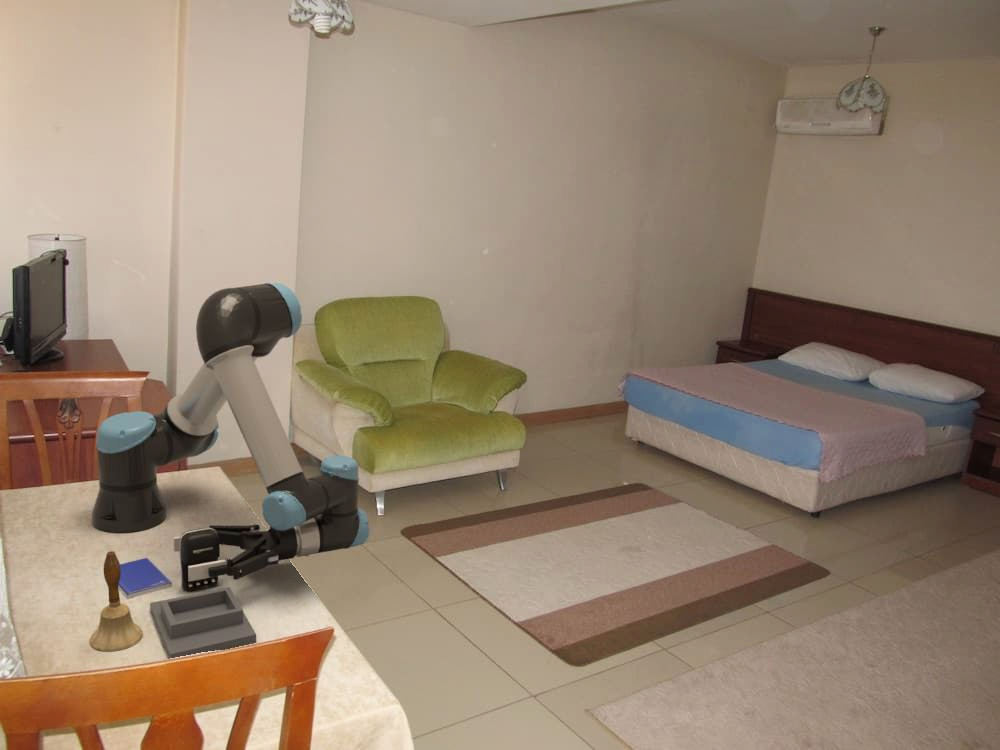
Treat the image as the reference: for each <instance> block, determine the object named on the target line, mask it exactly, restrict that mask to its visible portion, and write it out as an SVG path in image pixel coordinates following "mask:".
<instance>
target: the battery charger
mask: <svg viewBox="0 0 1000 750" xmlns="http://www.w3.org/2000/svg"><path fill="white" fill-rule="evenodd" d="M180 536H181V537H180V551H179V562H180V574H181V575H180V576H181V578H180V579H181V583H180V586H181V587H182V589H183V590H184V591H187V592H193V591H199V590H203V589H207V588H211V587H212V588H213V587H214V586H217V585H218V584H219V576H216V577H210V578H205V579H200V580H195V581H190V582H189V579H188V566H192V565H198V564H203V563H208V562H214V561H219V558H220V556H221V547H220V545H221V544H220V543H219V537H218V535H217V533H216V531H215V530H214V529H212V528H209V527H203V528H198V529H197V528H196V529H192V530H187V531H185V532H183V533H182V534H181V535H180Z"/></svg>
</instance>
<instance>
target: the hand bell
mask: <svg viewBox="0 0 1000 750" xmlns="http://www.w3.org/2000/svg"><path fill="white" fill-rule="evenodd" d="M120 564H121V563H120V561H119V559H118V556H117V554H116V552H115V551H107V552H106V557H105V559H104V563H103V576H104V581H105V583H106V584H107V585H106V586H107V587H108V603H109V604H108V605H107V606H105V607H103V608H102V610H101V612H100V619H99V624H98V627H97V629H96V630H95V631H94V632H93V633H92V634H91V636H90V638H89V645H90V646H91V647H92V648H93V649H95V650H97V651H99V652H100V651H101V652H117V651H122V650H126V649H128V648H130V647H133V646H134V645H136V644H138V643H139V641H141V639H142V638H143V635H144V631H143V629H142V627H141V626H140V625H138V624H136V623H135V622H134V621H133V617H132V615H131V609H130V607H129V605H127V604H126V603H121V598H120V589H119V588H118V585H119V580H120V575H121V569H120Z"/></svg>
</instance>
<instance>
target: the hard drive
mask: <svg viewBox="0 0 1000 750" xmlns="http://www.w3.org/2000/svg"><path fill="white" fill-rule="evenodd" d="M120 569H121V575H120V580H119V585H118V589H119V591H120V592H122V593H123V595H124V596H125V598H127V599H128V600H129V599H132V598H135V597H139V596H144V595H146V594H147V595H148V594H150V593H153V592H157V591H161V590H163V589H164V590H165V589H169V588H171V587H173V583H172V581H171V580H170V579H168V577H166V575H165V574H164V573H163V572H162V571H161V570H160V569H159V568H158V567H157V566H156V565H155V564H154V563H153V562H152V561H151V560H150V559H149V558H145V557H144V558H140V559H136V560H131V561H127V562H124V563H120Z"/></svg>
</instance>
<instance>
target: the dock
mask: <svg viewBox="0 0 1000 750" xmlns="http://www.w3.org/2000/svg"><path fill="white" fill-rule="evenodd" d="M149 607H150V608H149V610H150V613H151V616H152V618H153V621H154V624H155V626H156V628H157V631H158V633H159V635H160V638H161V642H162V643H163V646H164V649H165V651H166V654H167V656H168V659H169V658H175V657H180V656H186V655H191V654H196V653H201V652H208V651H215V650H221V651H223V650H222V649H225V650H229V649H232V647H234V648H237V646H238V647H242V646H245V645H251V644H254V643H257V633H256V631H255V629H254V628H253V627H252V625H251V623H250V621H249V620H248V618H247V616H246V614H245V613H244V609H243V607H242V606H241V604H240V602H239V601H238V599H237V597H236V596H235V594H234V592H233V591H232V589H231V587H230V586H228V587H223V588H218V589H213V590H208V591H202V592H199V593H193V594H188V595H183V596H177V597H174V598H168V599H167V598H166V599H163V600H158V601H153V602H152V601H151V602H150V603H149ZM251 642H252V643H251ZM241 645H242V646H241ZM228 648H229V649H228Z"/></svg>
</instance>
